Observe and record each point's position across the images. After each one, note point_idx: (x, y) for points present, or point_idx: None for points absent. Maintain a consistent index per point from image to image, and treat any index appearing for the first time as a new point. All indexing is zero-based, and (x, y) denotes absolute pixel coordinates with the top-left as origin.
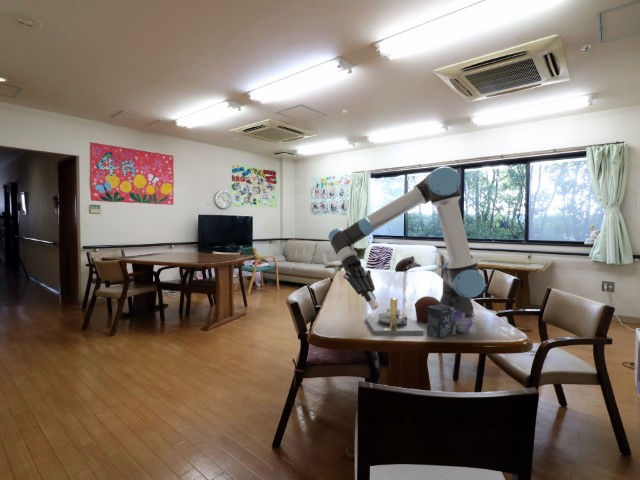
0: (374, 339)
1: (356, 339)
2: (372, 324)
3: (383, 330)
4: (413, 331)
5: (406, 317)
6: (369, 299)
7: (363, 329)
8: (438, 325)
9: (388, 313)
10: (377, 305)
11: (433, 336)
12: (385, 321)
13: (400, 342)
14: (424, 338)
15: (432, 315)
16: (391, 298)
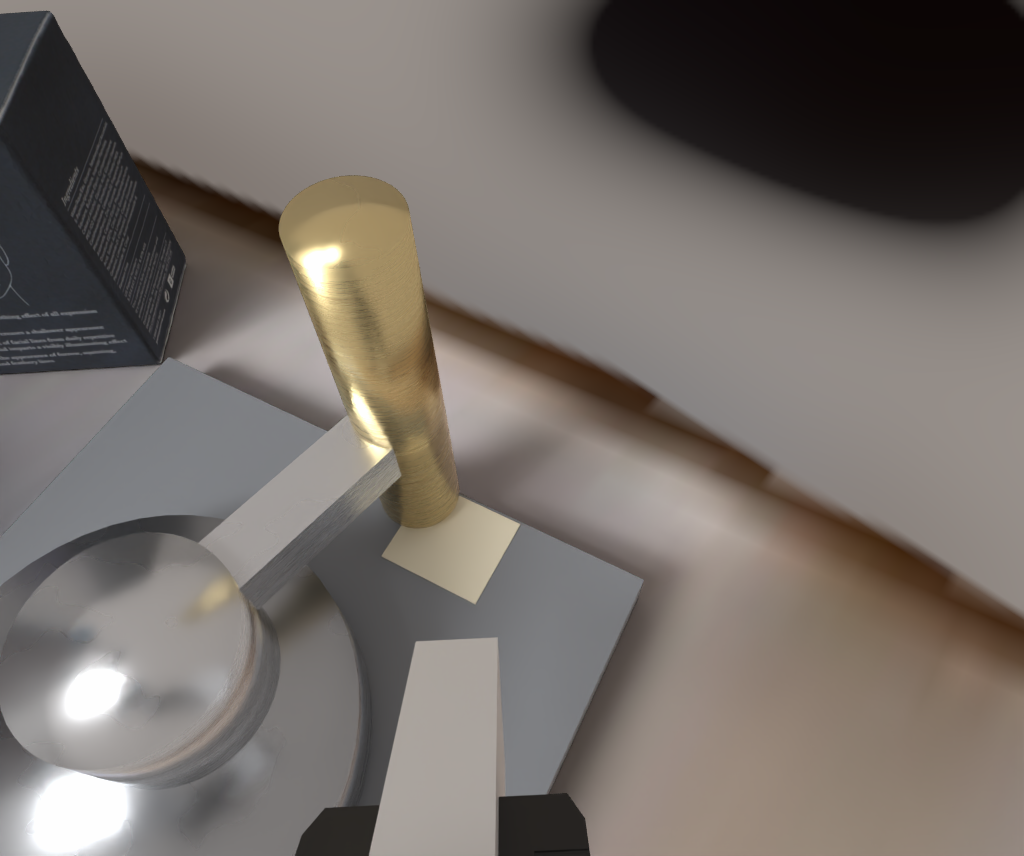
0: (713, 490)
1: (905, 574)
2: None
3: (532, 538)
4: (253, 399)
5: (33, 571)
6: (547, 799)
7: (643, 847)
8: (133, 175)
9: (257, 644)
10: (446, 644)
11: (174, 300)
12: (358, 662)
13: (531, 339)
14: (266, 320)
15: (74, 155)
16: (359, 251)
